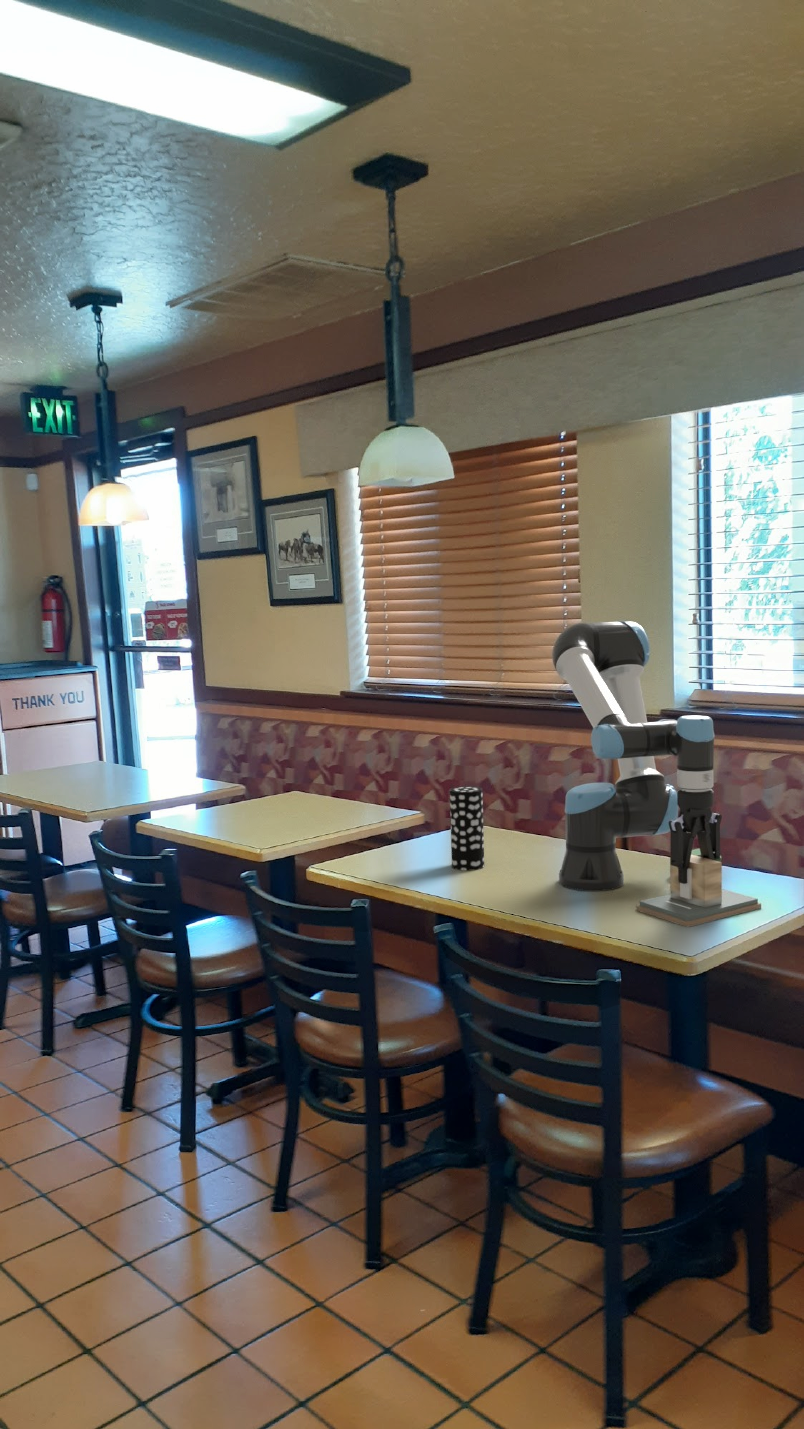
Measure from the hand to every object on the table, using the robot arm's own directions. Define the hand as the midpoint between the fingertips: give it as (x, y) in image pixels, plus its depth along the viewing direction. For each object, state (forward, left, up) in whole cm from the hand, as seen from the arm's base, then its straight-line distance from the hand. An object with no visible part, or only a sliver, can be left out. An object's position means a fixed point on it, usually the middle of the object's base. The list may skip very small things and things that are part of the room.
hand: (695, 895), depth 230 cm
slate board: (0, +1, -3) cm, 3 cm away
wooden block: (0, 0, -1) cm, 1 cm away
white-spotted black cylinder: (-61, -17, -3) cm, 64 cm away
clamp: (-19, +21, -4) cm, 29 cm away
